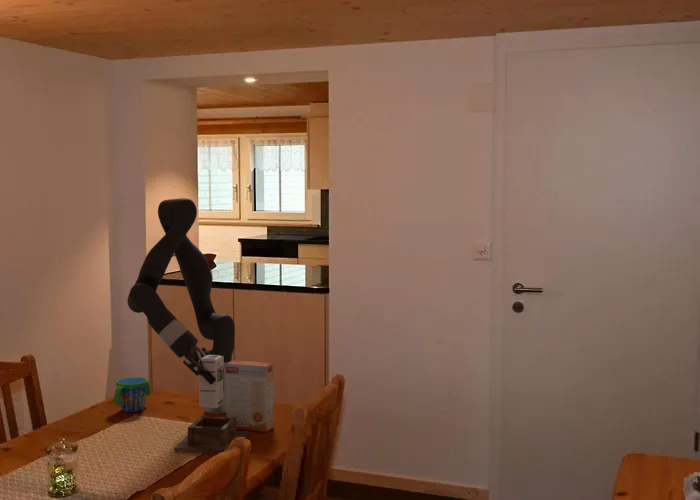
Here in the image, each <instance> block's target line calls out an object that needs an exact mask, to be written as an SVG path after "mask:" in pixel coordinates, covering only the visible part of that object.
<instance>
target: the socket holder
mask: <svg viewBox="0 0 700 500" xmlns="http://www.w3.org/2000/svg"><path fill="white" fill-rule="evenodd" d="M237 437H245V438H246V439H247V438H248V437H249V431H245V430H241V431H240V430H239V431H238V430H237V429H236V418H234V417H232V418H227V417H219V416H217V417H214V416H206V415H201V416H200V417H199V418H197V419H196V420H195V421H194V422H193V423H191V424H190V425H189V426H188V427H187V436H185V437H184V438H183V439H182V440H181V441H180V442H178V443H177V444H176V445H175V446H174V447H173V448H174V449H173V450H174V452H178V451H182V453H198V454H214V455H215V454H217V453H220V452H222V451H224V450H226V449H227V448H229V447H230V443H231V441H232V440H234V439H235V438H237ZM217 455H218V454H217Z"/></svg>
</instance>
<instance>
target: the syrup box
mask: <svg viewBox="0 0 700 500" xmlns="http://www.w3.org/2000/svg"><path fill="white" fill-rule="evenodd" d="M201 360H202V361H203V362H204V366H205V367H206V368H207V371H209V372H210V373H211V374H212V375H213V376H214V377H215V378H216V381H215V382H214V383H213V384H209V383H208V382H207V380H206V379H205V378H204V377H203V376H200V375H198V398H199V399H198V401H199V402H198V403H199V407H200V408H204V409H205V408H218V407H219V406H220V405H222V404H223V403H224V357H223V356H220V355H207V356H205V357H203V358H202V359H201ZM199 363H200V361H199Z"/></svg>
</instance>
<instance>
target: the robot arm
mask: <svg viewBox="0 0 700 500" xmlns="http://www.w3.org/2000/svg"><path fill="white" fill-rule="evenodd" d="M197 209H198V208H197V205H196V203H195V202H194V201H193V200H192V199H191V198H181V197H180V198H171V199H170V198H169V199H164V200H162V201H160V203H159V204H158V206H157V216H158V220H159V222H160V225H161V227H162V229H163V231H164V233H165V234H164V235H163V237H161V239H160V240H159V241H158V242H157V243H156V244H154V246H153V247H152V248H151V249H150V250H149V251H148V252H147V255H146V256H145V258H144V260H143V263H142V265H141V266H140V269H139V272H138V277H137V279H136V280H135V283H134V285H132V287H131V288H130V291H129V294H128V297H127V299H126V300H127V306H128V307H129V309H130V311H132V312H134V313H137V314H140V313H143V314H144V315H145V317H146V319H147V323H148V324H149V327H151V329H153V330H154V332H155V333H156V334H157V335H159V337H160V338H161V340H162V342H164V344H165V345H166V346H167V347H168V348H169V349H170V350H171V351H172V352H173V353H174V354H175V356H177V358H179V359H181V358H183V357H184V358H185V359H184V360H183V361H182V363H183V364H184V366H186V367H187V368H188V369H189V370H190V371H191V372H193V374H195V376H197V377H199V375H200V376H203V377H204V378H205V379H206V380H207V382H208V383H209V384H213V383H214V382H215V381H216V378H215V377H214V376H213V375H212V374H211V373H210V372H209V371H207V368H206V367H205V366H204V362H203V361H202V360H201V359H202V358H203V357H205V356H207V355H220V356H223V357H224V403H223V404H222V405H220V406H219V407H218V408H205V407H204V412H206V413H208V414H210V415H211V414H214V415H216V414H217V415H219V414H220V415H221V414H227V401H226V364H227V363H229V362H232V361H233V357H232V356H233V354H234V350H235V338H236V337H235V334H236V333H235V331H236V327H235V322H234V319H233V318H232V317H231V316H230V315H228V314H224V313H217V312H216V310H215V308H214V306H213V302H212V299H211V293H212V286H213V274H212V271H211V268H210V264H209V262H208V259H207V257H206V256H205V254H204V253H203V252H202V251H201V250H200V249H199V248H198V247H197V246H196V245H195V244H194V243H193V241H191V240H190V238H189V237H188V235H187V234H188V233H189V231H190V230H191V228H192V227H193V225H194V223H195V221H196V219H197V216H198V215H197V214H198V210H197ZM173 256H175V259H176V261H177V264H178V266H179V270H180V273H181V276H182V280H183V281H184V283H185V286H186V288H187V292H188V294H189V297H190V302H191V303H192V307H193V311H194V315H195V319H196V323H197V328H198V331H199V332H200V335H201V336H202V337H203V338H204V339H206V340H208V341H209V340H210V341H212V348H211V350H207V349H206V348H205V347H204V346H203V347H202V348H199V347H198V346H197V344H198V343H199V339H198V338H197V337H196V336H195V335H194V334H193V333H192V332H191V331H190V329H188V327H186V326H185V325H184V323H182V322H181V321H180V320H179V319H178V318H177V317H176V316H175V315H174V314H173V313H172V312H171V311H170V310H169V309H168V308H167V306H166V305H165V303H164V301H163V299H162V298H161V297H160V296H159V294H158V293H157V290H158V287H159V286H160V282H161V283H162V280H163V277H164V275H165V274H166V271H167V268H168V266H169V264H170V262H171V260H172V258H173ZM199 361H200V363H199Z"/></svg>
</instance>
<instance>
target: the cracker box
mask: <svg viewBox="0 0 700 500" xmlns="http://www.w3.org/2000/svg"><path fill="white" fill-rule="evenodd" d="M274 378H275V377H274V363H273V362H263V361H262V362H261V361H251V360H250V361H249V360H232V362H229V363H227V364H226V401H227V413H226V418H232V417H234V418H236V430H241V431H253V432H262V433H268V432H269V431H271V429H274V428H275V425H274V424H275V423H274V421H275V419H274V418H275V416H274V415H275V412H274V411H275V407H274V406H275V404H274V401H275V400H274V399H275V397H274V396H275V394H274V391H275V390H274V387H275V385H274V383H275V381H274V380H275V379H274Z"/></svg>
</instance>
